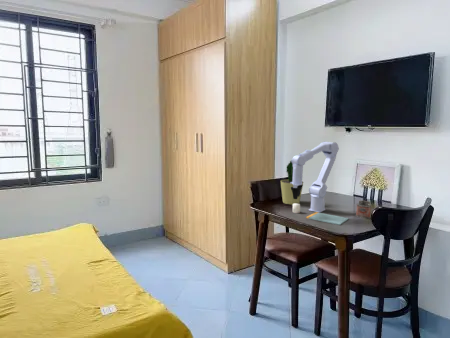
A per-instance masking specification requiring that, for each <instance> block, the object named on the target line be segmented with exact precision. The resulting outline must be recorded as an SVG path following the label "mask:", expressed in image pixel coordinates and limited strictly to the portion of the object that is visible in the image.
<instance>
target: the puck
mask: <svg viewBox="0 0 450 338" xmlns="http://www.w3.org/2000/svg"><path fill="white" fill-rule="evenodd" d="M292 213H294V214H300V213H301V204H300V203H299V204H297V203H294V204H293V205H292Z"/></svg>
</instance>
